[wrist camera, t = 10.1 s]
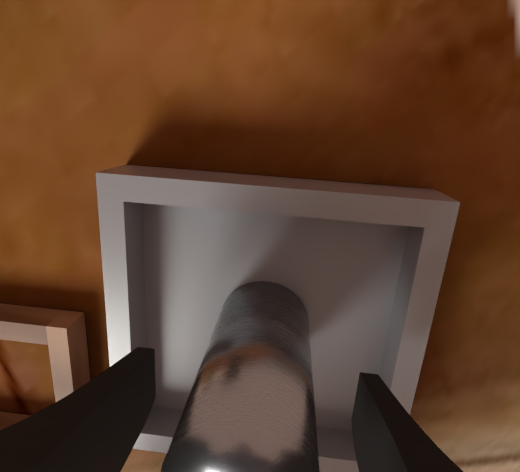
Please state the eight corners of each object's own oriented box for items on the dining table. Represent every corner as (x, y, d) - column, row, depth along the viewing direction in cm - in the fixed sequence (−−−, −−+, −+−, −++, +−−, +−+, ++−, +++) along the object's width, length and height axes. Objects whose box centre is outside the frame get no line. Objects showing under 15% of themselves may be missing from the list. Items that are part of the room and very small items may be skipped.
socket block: (95, 437, 21) (80, 460, 19) (-37, 419, 21) (-61, 441, 20) (84, 312, 18) (66, 328, 17) (-66, 296, 19) (-95, 310, 18)
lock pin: (303, 363, 17) (311, 557, 10) (219, 354, 17) (161, 536, 10) (313, 285, 16) (330, 437, 8) (221, 276, 16) (158, 417, 9)
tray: (381, 438, 19) (393, 483, 17) (137, 407, 20) (115, 446, 18) (434, 189, 15) (460, 202, 13) (125, 164, 16) (95, 172, 14)
